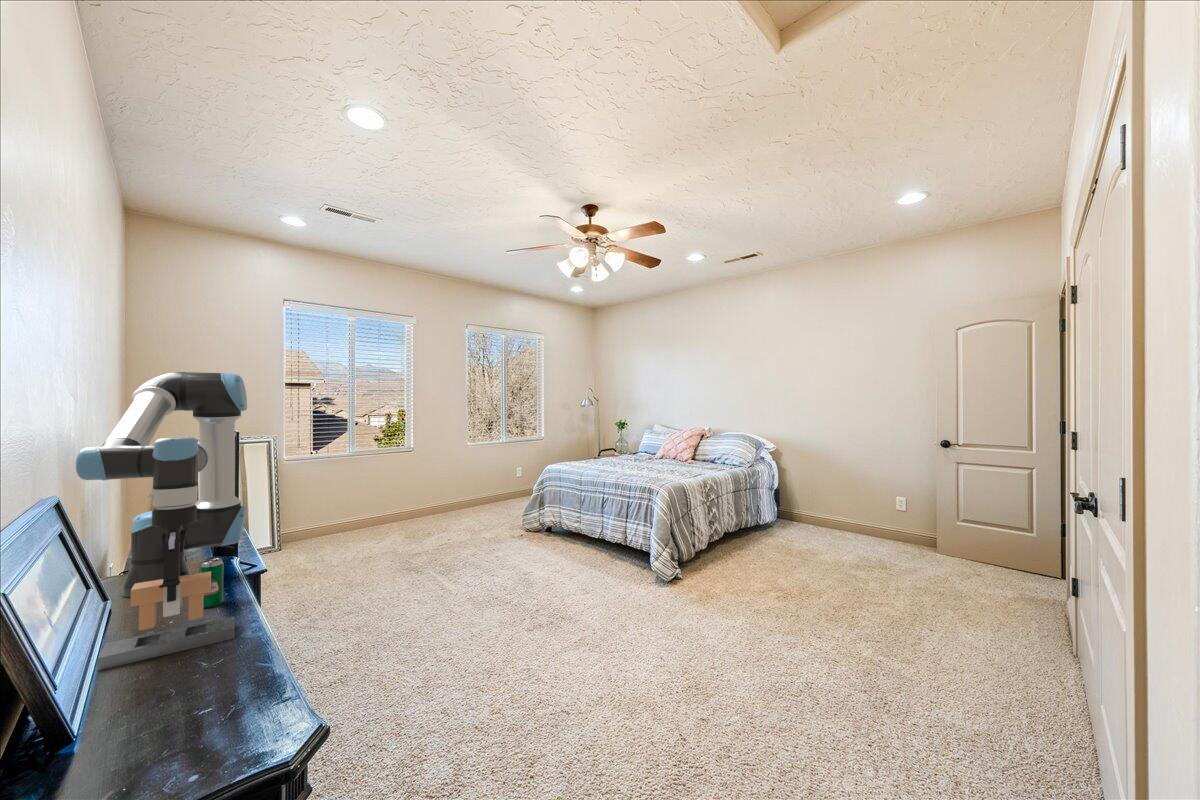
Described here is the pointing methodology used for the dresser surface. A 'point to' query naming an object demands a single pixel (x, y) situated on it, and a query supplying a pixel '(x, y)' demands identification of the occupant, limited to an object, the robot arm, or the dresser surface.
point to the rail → (165, 642)
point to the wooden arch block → (151, 594)
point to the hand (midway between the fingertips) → (172, 610)
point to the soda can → (213, 582)
